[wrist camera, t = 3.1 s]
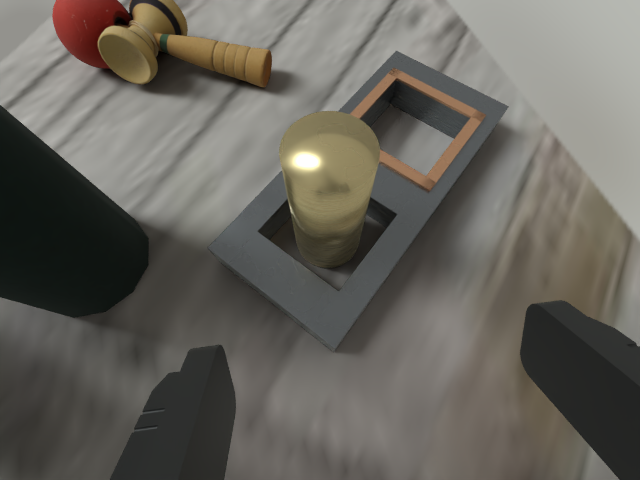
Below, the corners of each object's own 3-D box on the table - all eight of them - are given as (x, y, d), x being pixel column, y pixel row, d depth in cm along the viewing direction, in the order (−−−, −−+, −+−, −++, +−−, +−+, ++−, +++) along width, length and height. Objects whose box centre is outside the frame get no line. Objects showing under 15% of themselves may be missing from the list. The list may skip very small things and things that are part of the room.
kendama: (280, 58, 34) (98, 11, 33) (278, 3, 27) (53, -57, 27) (260, 128, 32) (68, 80, 31) (253, 86, 26) (13, 24, 25)
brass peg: (283, 243, 24) (258, 158, 15) (321, 199, 26) (320, 96, 17) (334, 280, 23) (340, 212, 14) (371, 232, 25) (399, 142, 15)
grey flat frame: (218, 261, 24) (206, 246, 21) (390, 75, 31) (396, 48, 28) (333, 352, 21) (334, 348, 19) (493, 129, 28) (510, 104, 26)
